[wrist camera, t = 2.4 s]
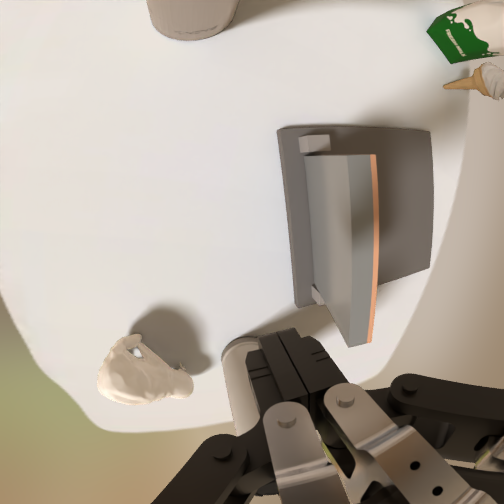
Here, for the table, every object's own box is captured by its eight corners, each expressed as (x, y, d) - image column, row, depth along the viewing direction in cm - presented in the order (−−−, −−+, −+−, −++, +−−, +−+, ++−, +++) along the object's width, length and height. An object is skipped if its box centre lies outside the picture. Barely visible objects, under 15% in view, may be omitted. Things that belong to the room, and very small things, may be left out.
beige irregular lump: (104, 369, 21) (211, 405, 26) (115, 319, 28) (200, 356, 34) (89, 403, 22) (185, 433, 27) (99, 353, 29) (178, 384, 34)
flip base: (276, 130, 26) (287, 126, 23) (424, 131, 30) (441, 131, 26) (294, 303, 33) (305, 317, 30) (424, 265, 36) (439, 272, 33)
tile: (303, 156, 26) (346, 155, 15) (322, 154, 26) (375, 154, 15) (314, 282, 31) (348, 347, 19) (330, 279, 31) (371, 342, 19)
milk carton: (462, 49, 26) (544, 38, 8) (451, 71, 27) (547, 61, 9) (433, 11, 23) (515, -12, 5) (420, 29, 24) (516, 2, 6)
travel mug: (278, 342, 34) (345, 471, 16) (253, 377, 35) (298, 503, 17) (236, 327, 32) (285, 475, 14) (212, 365, 33) (239, 506, 15)
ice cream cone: (432, 92, 28) (513, 84, 14) (433, 64, 27) (508, 50, 13) (452, 109, 29) (528, 109, 15) (453, 82, 28) (525, 75, 14)
